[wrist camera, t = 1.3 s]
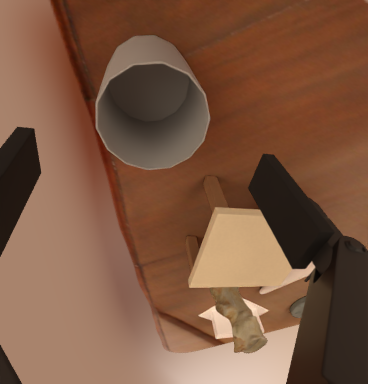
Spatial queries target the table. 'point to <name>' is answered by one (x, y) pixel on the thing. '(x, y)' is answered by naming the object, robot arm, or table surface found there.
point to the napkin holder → (223, 324)
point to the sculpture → (239, 319)
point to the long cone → (290, 278)
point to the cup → (151, 105)
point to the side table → (235, 247)
